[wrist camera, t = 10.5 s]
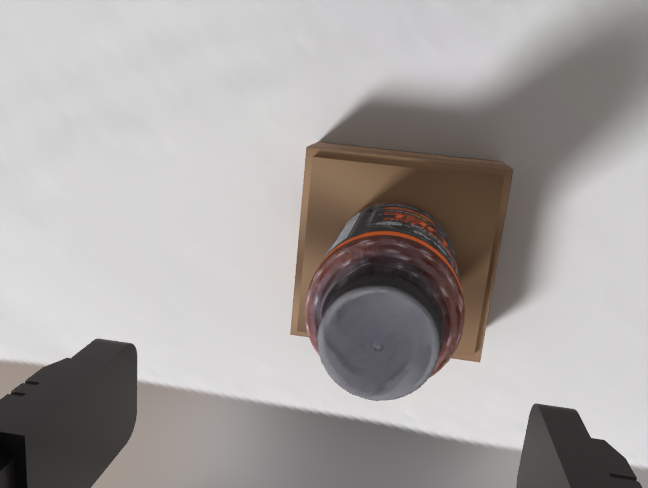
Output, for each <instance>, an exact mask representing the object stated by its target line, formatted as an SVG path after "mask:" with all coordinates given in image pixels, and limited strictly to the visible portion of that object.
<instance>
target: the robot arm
mask: <svg viewBox="0 0 648 488" xmlns="http://www.w3.org/2000/svg"><path fill="white" fill-rule="evenodd" d="M136 415H137V351H136V348H135V346H134V345H133V344H131V343H125V342H118V341H111V340H104V339H95V340H94V341H92V342H91V343H90V344H89V345H87V346H86V347H85V348H83V349H82V350H81V351H80V352H78V353H77V354H76V355H75V356H73V357H72V358H66V359H63V360H61V361H58V362H56V363H53V364H51V365H48V366H46V367H43V368H42V369H40V370H39V371H38V372H36V373H35V374H34V375H32V376H31V377H30V378H28V379H27V380H26V382H25V384H24V383H22V384H20V385H19V386H18V387H16V388H15V389H14V390H12V391H11V394H7V395H6V396H5V397H3V398H2V399H1V400H0V488H91V487H92V485H93V484H94V483H95V482H96V480H97V479H98V478H99V477H100V475H101V474H102V473H103V472H104V471H105V469H106V468H107V467H108V465H109V464H110V463H111V462H112V461H113V459H114V458H115V457H116V456H117V455H118V453H119V452H120V451H121V450H122V448H123V447H124V446H125V445H126V443H127V442H128V440H129V438H130V437H131V434H132V432H133V429H134V425H135V421H136ZM636 479H637V478H636V476H635V474H634V473H633V471H632V469H631V467H630V465H629V464H628V462H627V460H626V458H624V457H623V456H622V455H621V454H620V453H619V452H617V451H616V450H615V449H614V448H613V447H612V446H611V445H609V444H608V443H607V442H606V441H605V440H600V439H594V438H591V437H590V435H589V433H588V431H587V429H586V428H585V426H584V424H583V422H582V420H581V418H580V416H579V414H578V412H577V411H576V410H575V409H569V408H563V407H556V406H549V405H542V404H534V405H533V406H532V409H531V411H530V415H529V420H528V425H527V430H526V435H525V440H524V445H523V450H522V455H521V461H520V466H519V471H518V477H517V488H642V486H641V485H640V483H639V482H637V481H636Z"/></svg>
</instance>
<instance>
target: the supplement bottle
mask: <svg viewBox="0 0 648 488" xmlns="http://www.w3.org/2000/svg"><path fill="white" fill-rule="evenodd" d="M464 320H465V305H464V297H463V293H462V287H461V281H460V277H459V273H458V269H457V263H456V257H455V254H454V250H453V245H452V243H451V241H450V239H449V237H448V234H447V233H446V231H445V230H444V228H443V227H442V225H441V224H440V223H439V222H438V221H437V220H436V219H435V218H434V217H433V216H432V215H431V214H429V213H428V212H426V211H425V210H423V209H421V208H419V207H417V206H414V205H411V204H407V203H402V202H384V203H378V204H374V205H372V206H369V207H367V208H365V209H363V210H362V211H360V212H358V213H357V214H356V215H354V216H353V217H352V218H351V219H350V220H349V221H348V222H347V223H346V224H345V226H344V227H343V228H342V229H341V231H340V232H339V234H338V236H337V238H336V239H335V241H334V242H333V244H332V246H331V247H330V249H329V250H328V252H327V254H326V255H325V257H324V259H323V260H322V261H321V263H320V265H319V267H318V269H317V270H316V272H315V274H314V275H313V277H312V280H311V282H310V285H309V288H308V291H307V297H306V302H305V322H306V328H307V332H308V335H309V338H310V340H311V343H312V345H313V347H314V349H315V350H316V352H317V353H318V355H319V356H320V359H321V362H322V364H323V365H324V367H325V369H326V371H327V373H328V374H329V375H330V377H331V378H332V379H333V380H334V381H335V382H336V383H337V384H338V385H339V386H340V387H342V388H343V389H345V390H346V391H347V392H349V393H351V394H353V395H356V396H359V397H361V398H365V399H369V400H375V401H379V400H393V399H397V398H400V397H404V396H406V395H408V394H410V393H412V392H414V391H415V390H417V389H418V388H419V387H421V386H422V385H423V384H424V383H425V382H426V381H427V379H428V378H430V377H431V376H433V375H434V374H435V373H437V372H438V371H439V370H440V369H441V368H442V367H443V366H444V365H445V364H446V363H447V362H448V361H449V360H450V358H451V357H452V356H453V354H454V352H455V350H456V348H457V346H458V344H459V342H460V339H461V336H462V332H463V327H464Z"/></svg>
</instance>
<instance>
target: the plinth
mask: <svg viewBox="0 0 648 488" xmlns="http://www.w3.org/2000/svg"><path fill="white" fill-rule="evenodd" d="M512 173H513V169H511V168H510V167H509V166H507V165H506V164H505V163H503V162H498V161H489V160H480V159H470V158H461V157H452V156H443V155H433V154H424V153H415V152H405V151H396V150H387V149H378V148H368V147H359V146H350V145H340V144H331V143H322V142H317V143H315V144H312V145H310V146H308V147H306V159H305V171H304V182H303V194H302V206H301V217H300V229H299V240H298V252H297V264H296V275H295V287H294V298H293V310H292V322H291V333H290V335H297V336H304V337H309V335H308V332H307V328H306V322H305V302H306V297H307V291H308V288H309V285H310V282H311V280H312V277H313V275H314V274H315V272H316V270H317V269H318V267H319V265H320V263H321V261H322V260H323V259H324V257H325V255H326V254H327V252H328V250H329V249H330V247H331V246H332V244H333V242H334V241H335V239H336V238H337V236H338V234H339V232H340V231H341V229H342V228H343V227H344V226H345V224H346V223H347V222H348V221H349V220H350V219H351V218H352V217H353V216H354V215H356V214H357V213H358V212H360V211H362V210H363V209H365V208H367V207H369V206H372V205H374V204H378V203H384V202H402V203H407V204H411V205H414V206H417V207H419V208H421V209H423V210H425V211H426V212H428V213H429V214H431V215H432V216H433V217H434V218H435V219H436V220H437V221H438V222H439V223H440V224H441V225H442V227H443V228H444V230H445V231H446V233H447V234H448V237H449V239H450V241H451V243H452V245H453V250H454V254H455V257H456V263H457V269H458V273H459V277H460V281H461V287H462V293H463V297H464V305H465V320H464V327H463V332H462V336H461V339H460V342H459V344H458V346H457V348H456V350H455V352H454V354H453V356H452V357H451V358H453V359H460V360H467V361H474V362H480V359H481V353H482V347H483V341H484V336H485V330H486V324H487V318H488V312H489V307H490V301H491V295H492V289H493V283H494V277H495V272H496V266H497V260H498V254H499V248H500V243H501V237H502V231H503V225H504V219H505V213H506V208H507V202H508V196H509V190H510V184H511V179H512Z"/></svg>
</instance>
